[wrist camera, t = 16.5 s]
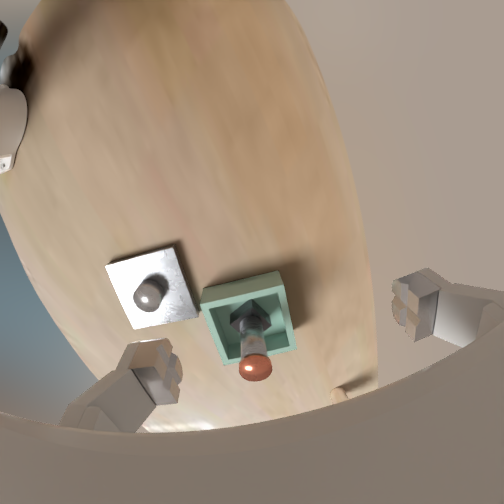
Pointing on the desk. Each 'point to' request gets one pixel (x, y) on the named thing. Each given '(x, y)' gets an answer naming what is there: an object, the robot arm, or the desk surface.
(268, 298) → the bin
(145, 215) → the desk surface
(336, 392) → the milkshake
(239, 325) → the strut
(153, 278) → the stud mount
